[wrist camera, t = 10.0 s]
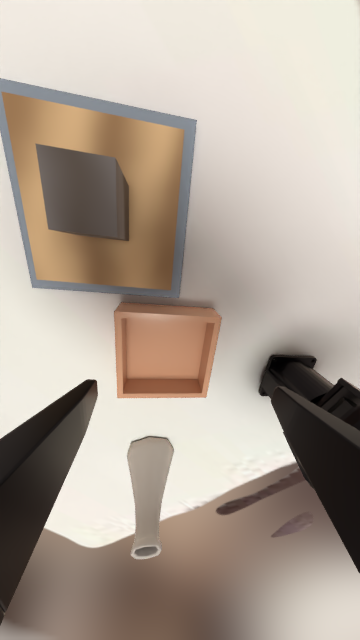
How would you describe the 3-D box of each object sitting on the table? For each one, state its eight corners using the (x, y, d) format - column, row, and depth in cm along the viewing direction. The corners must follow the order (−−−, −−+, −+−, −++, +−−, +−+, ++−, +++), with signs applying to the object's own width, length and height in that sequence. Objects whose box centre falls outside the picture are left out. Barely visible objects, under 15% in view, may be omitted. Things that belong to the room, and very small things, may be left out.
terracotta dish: (213, 308, 20) (221, 317, 17) (200, 379, 23) (206, 397, 20) (121, 302, 18) (114, 311, 15) (122, 379, 22) (117, 398, 19)
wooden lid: (183, 136, 14) (196, 71, 9) (170, 288, 18) (174, 302, 13) (11, 101, 12) (-93, -3, 7) (42, 278, 16) (-9, 289, 11)
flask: (124, 437, 26) (104, 542, 16) (173, 432, 26) (180, 530, 17) (129, 468, 28) (115, 572, 19) (174, 462, 29) (180, 561, 20)
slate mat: (195, 123, 14) (196, 120, 13) (178, 297, 19) (179, 298, 18) (-6, 81, 12) (-11, 75, 11) (35, 286, 17) (32, 287, 16)
